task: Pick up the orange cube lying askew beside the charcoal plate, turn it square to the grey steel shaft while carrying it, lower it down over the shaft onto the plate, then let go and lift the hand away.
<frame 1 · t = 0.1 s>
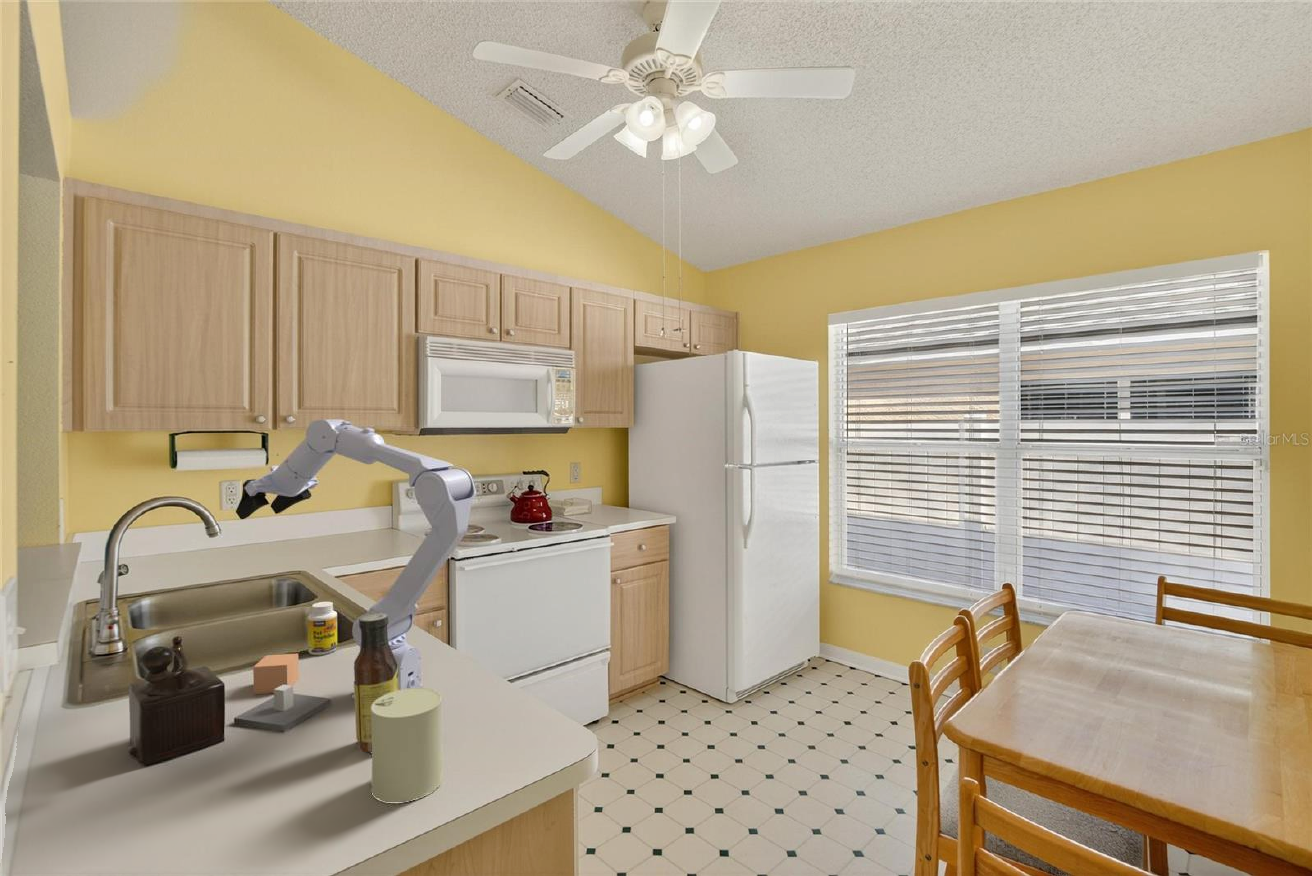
hand: (257, 512, 122), 32 cm above the counter, tool tilted 50°, fingers open, 7 cm apart
pepper mill: (179, 750, 97), on the counter
orange cube: (276, 686, 119), on the counter
supplement bottle: (323, 652, 137), on the counter
can: (407, 785, 88), on the counter
shaft base: (283, 713, 108), on the counter
sauce bottle: (377, 745, 98), on the counter
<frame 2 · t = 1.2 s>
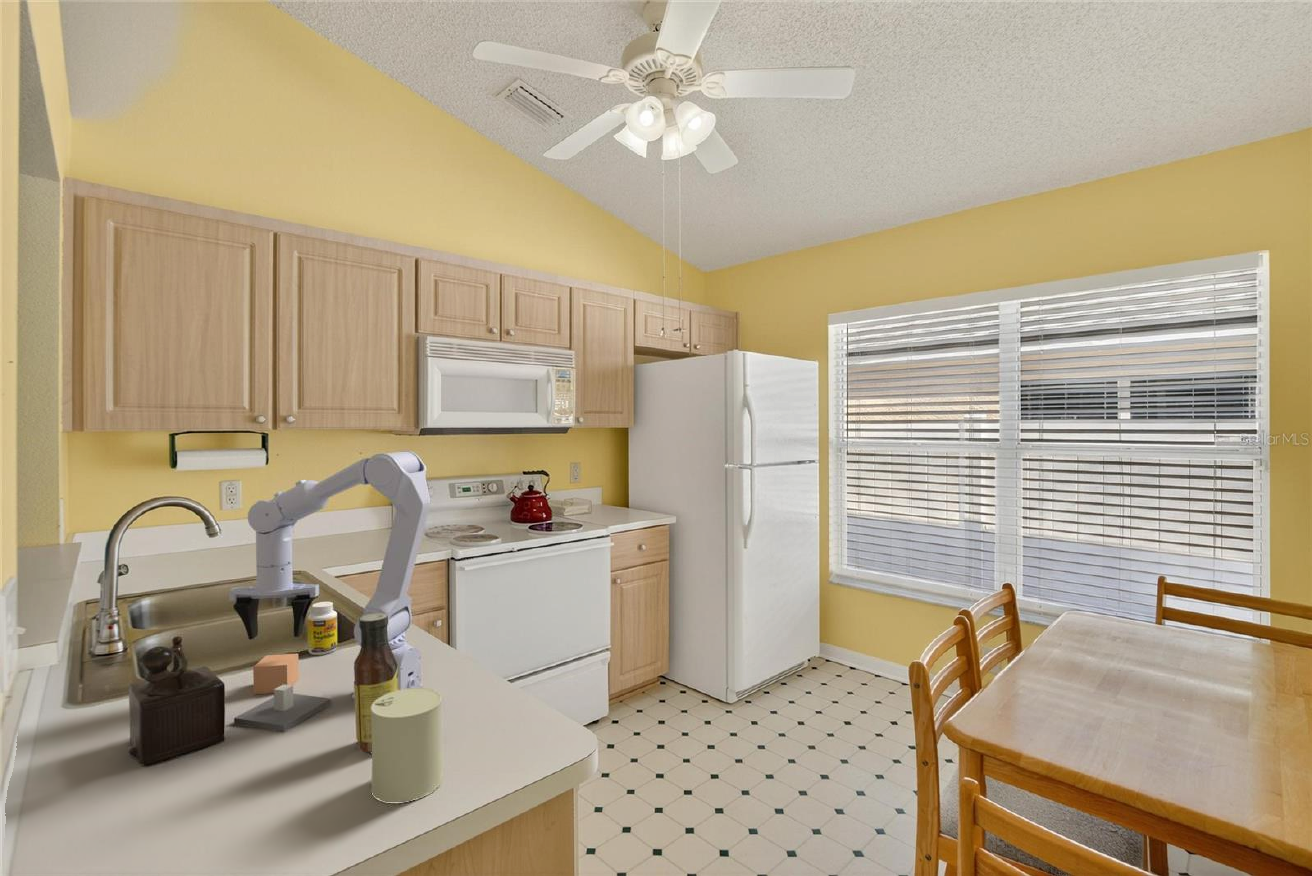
hand: (275, 636, 118), 9 cm above the counter, tool pointing down, fingers open, 7 cm apart
nothing on the counter moved.
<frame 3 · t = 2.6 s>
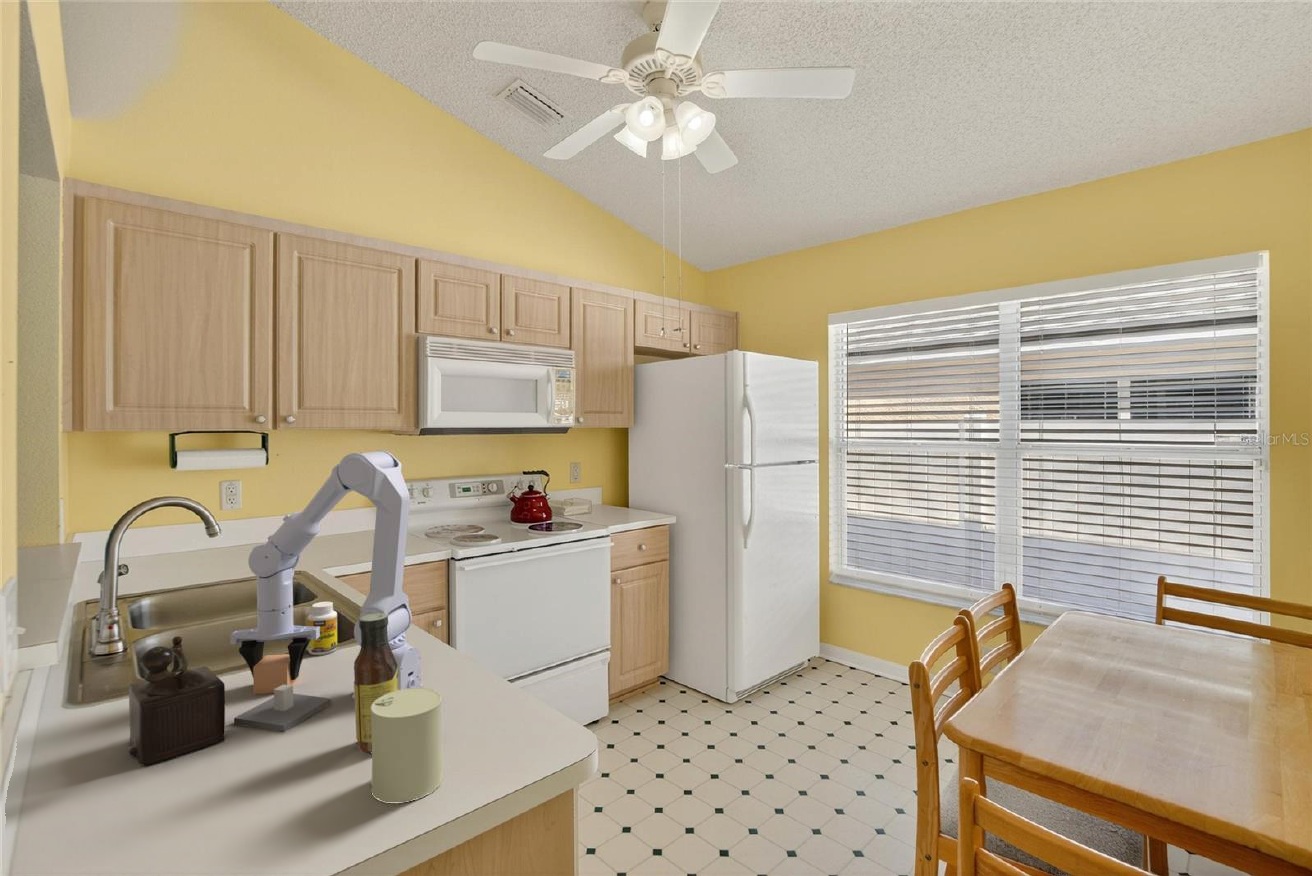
hand: (276, 679, 119), 1 cm above the counter, tool pointing down, fingers closed on orange cube, 6 cm apart
orange cube: (276, 686, 119), on the counter, touching gripper
everything else where it was.
when the fingers open (3 cm above the counter, at t = 7.7 s): orange cube stays where it is, resting on shaft base.
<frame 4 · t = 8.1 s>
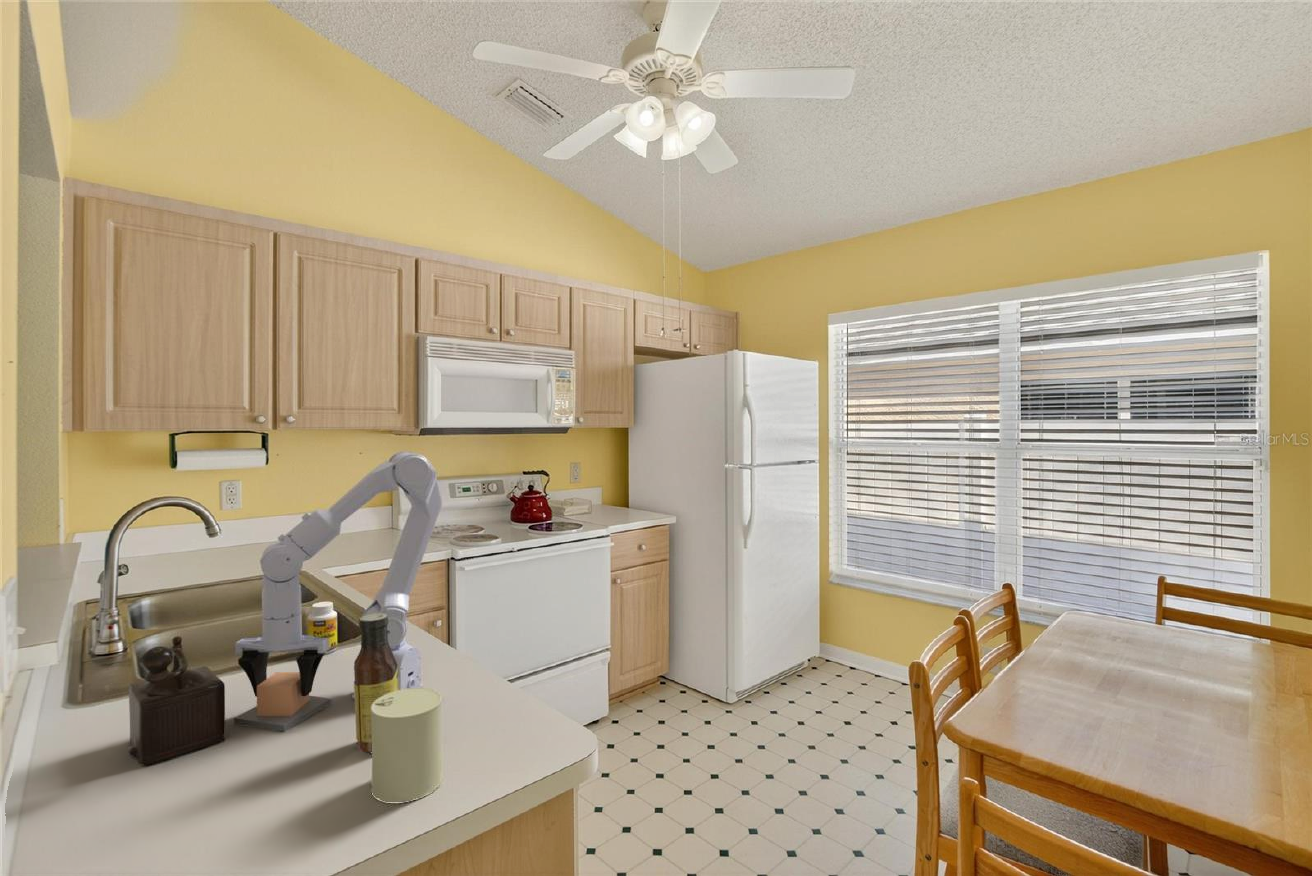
hand: (283, 693, 108), 3 cm above the counter, tool pointing down, fingers open, 7 cm apart
orange cube: (283, 708, 108), point 1 cm above the counter, touching shaft base
everything else where it was.
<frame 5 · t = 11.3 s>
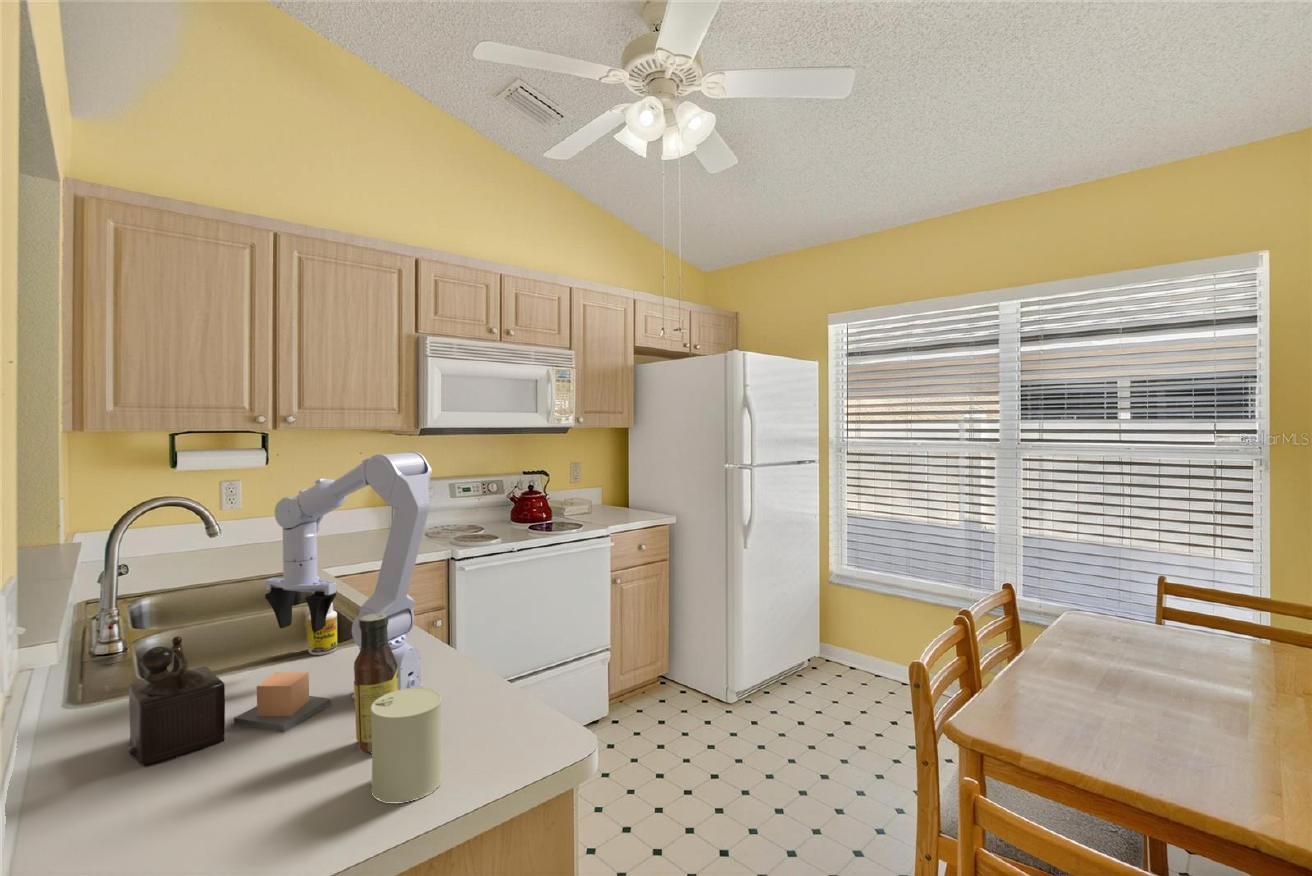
hand: (301, 628, 123), 9 cm above the counter, tool pointing down, fingers open, 7 cm apart
nothing on the counter moved.
at the end: orange cube 0.1 cm from the shaft base (horizontally); orange cube point 1.0 cm above the counter; the gripper is holding nothing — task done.
